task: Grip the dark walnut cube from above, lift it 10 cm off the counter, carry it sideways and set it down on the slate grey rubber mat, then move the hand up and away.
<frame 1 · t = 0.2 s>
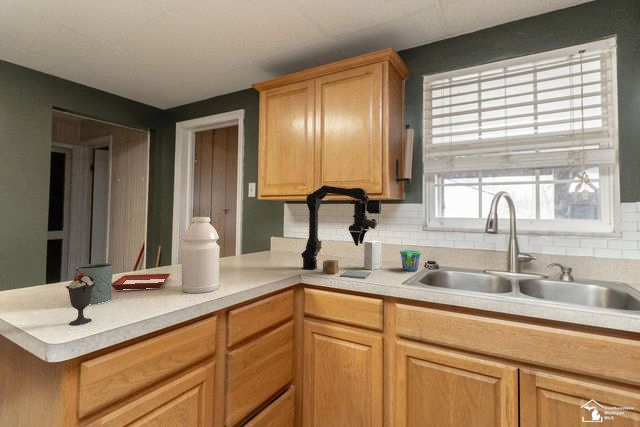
hand: (359, 244, 155), 14 cm above the worktop, tool pointing down, fingers open, 9 cm apart
walnut cube: (330, 273, 155), on the worktop
slate mat: (356, 275, 150), on the worktop
skincare box: (372, 269, 168), on the worktop
sundae: (80, 322, 85), on the worktop
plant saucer: (142, 286, 126), on the worktop
snack cup: (410, 270, 164), on the worktop
bottle: (200, 289, 122), on the worktop
blue-grey pot: (94, 302, 104), on the worktop
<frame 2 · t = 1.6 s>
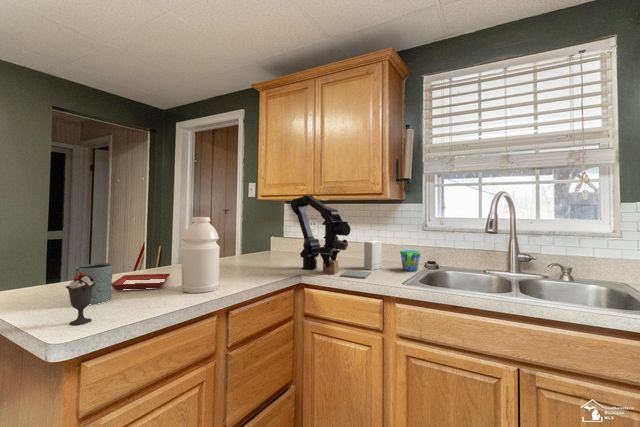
hand: (330, 265, 155), 4 cm above the worktop, tool pointing down, fingers open, 9 cm apart
nothing on the worktop moved.
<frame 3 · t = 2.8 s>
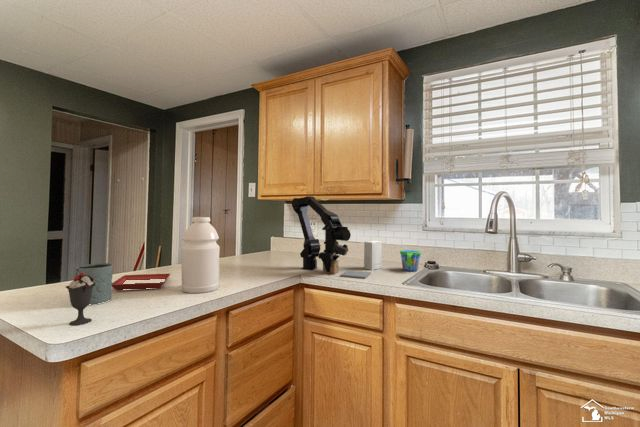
hand: (330, 270, 155), 1 cm above the worktop, tool pointing down, fingers closed on walnut cube, 6 cm apart
walnut cube: (330, 272, 155), on the worktop, touching gripper
everything else where it was.
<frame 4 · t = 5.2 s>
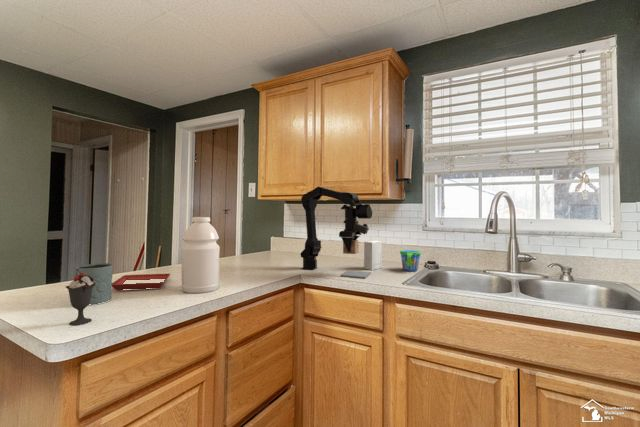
hand: (351, 250, 151), 12 cm above the worktop, tool pointing down, fingers closed on walnut cube, 6 cm apart
walnut cube: (350, 252, 151), point 11 cm above the worktop, touching gripper
everything else where it was.
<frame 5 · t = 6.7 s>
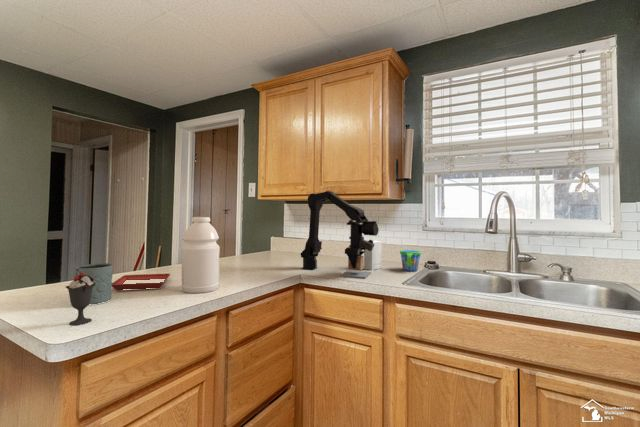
hand: (355, 266, 150), 4 cm above the worktop, tool pointing down, fingers closed on walnut cube, 6 cm apart
walnut cube: (355, 268, 150), point 3 cm above the worktop, touching gripper
everything else where it was.
when the fingers open (3 cm above the worktop, at t = 7.7 s): walnut cube drops 1 cm, resting on slate mat.
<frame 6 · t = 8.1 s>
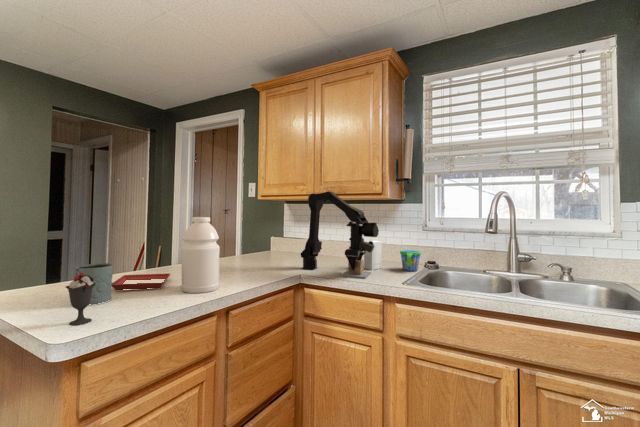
hand: (356, 268, 150), 3 cm above the worktop, tool pointing down, fingers open, 9 cm apart
walnut cube: (355, 273, 150), point 1 cm above the worktop, touching slate mat
everything else where it was.
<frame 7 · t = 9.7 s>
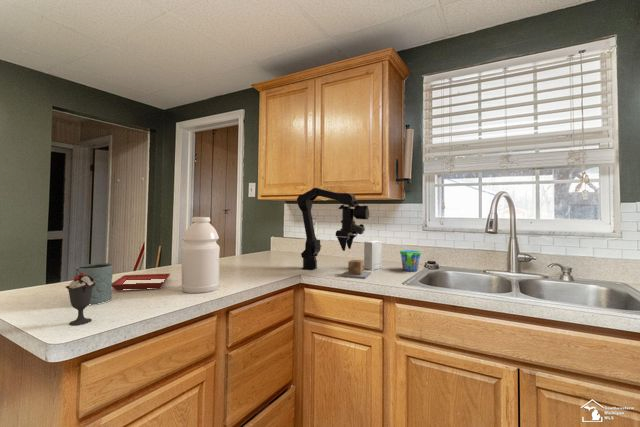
hand: (346, 249, 156), 11 cm above the worktop, tool pointing down, fingers open, 9 cm apart
nothing on the worktop moved.
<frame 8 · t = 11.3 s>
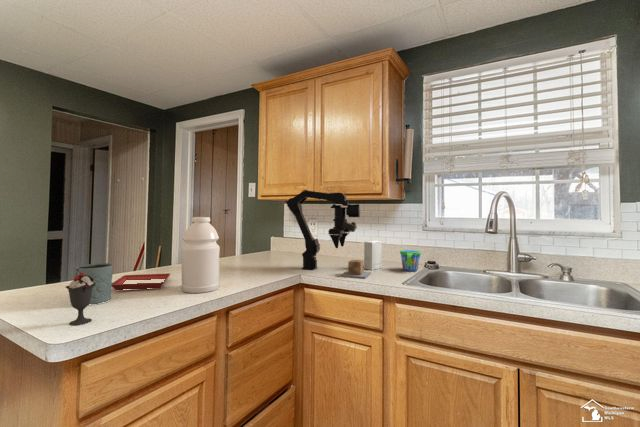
hand: (339, 247, 162), 12 cm above the worktop, tool pointing down, fingers open, 9 cm apart
nothing on the worktop moved.
at the end: walnut cube inside the target area on the slate mat (0.0 cm from its centre), point 0.8 cm above the slate mat's base; walnut cube tilted 0°; the gripper is holding nothing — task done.
